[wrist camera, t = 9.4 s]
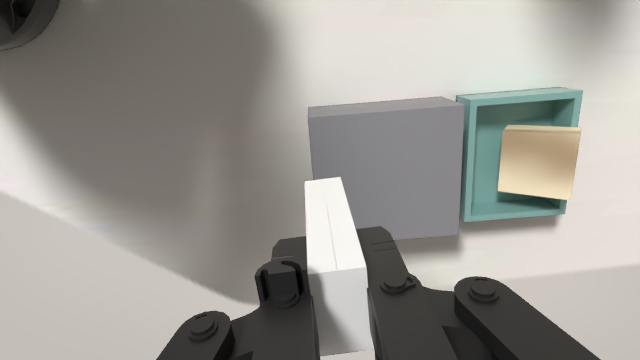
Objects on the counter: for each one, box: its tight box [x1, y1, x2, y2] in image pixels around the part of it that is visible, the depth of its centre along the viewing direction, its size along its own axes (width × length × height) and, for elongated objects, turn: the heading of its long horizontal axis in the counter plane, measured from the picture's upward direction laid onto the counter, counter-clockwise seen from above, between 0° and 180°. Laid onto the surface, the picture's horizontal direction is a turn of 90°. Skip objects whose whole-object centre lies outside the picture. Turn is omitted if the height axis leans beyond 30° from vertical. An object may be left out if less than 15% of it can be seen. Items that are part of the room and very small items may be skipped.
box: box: [456, 87, 583, 222], centre depth 37 cm, size 12×10×4 cm
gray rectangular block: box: [308, 97, 464, 240], centre depth 36 cm, size 12×13×6 cm
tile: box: [498, 125, 581, 200], centre depth 36 cm, size 6×6×3 cm
